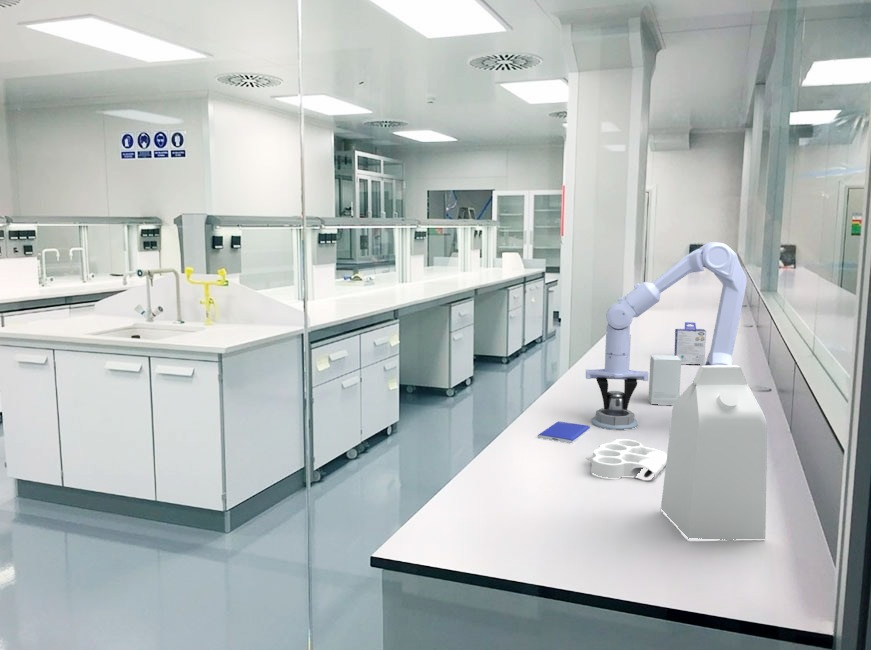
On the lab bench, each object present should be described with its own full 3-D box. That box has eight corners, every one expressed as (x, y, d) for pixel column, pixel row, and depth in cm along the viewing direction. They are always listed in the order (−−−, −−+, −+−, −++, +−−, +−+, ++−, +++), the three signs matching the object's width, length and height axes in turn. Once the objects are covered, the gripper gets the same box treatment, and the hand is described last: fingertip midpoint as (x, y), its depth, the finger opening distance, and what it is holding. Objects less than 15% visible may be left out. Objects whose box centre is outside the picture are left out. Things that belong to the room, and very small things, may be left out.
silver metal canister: (621, 414, 172) (622, 391, 171) (625, 420, 167) (626, 395, 166) (604, 414, 172) (605, 390, 171) (608, 420, 167) (609, 395, 166)
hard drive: (557, 420, 169) (537, 433, 158) (590, 425, 164) (572, 439, 154) (557, 427, 169) (537, 440, 158) (589, 432, 165) (572, 446, 154)
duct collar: (645, 429, 165) (646, 418, 165) (600, 430, 164) (601, 419, 163) (627, 417, 176) (628, 406, 175) (585, 418, 175) (585, 407, 174)
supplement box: (679, 406, 187) (681, 360, 185) (650, 405, 188) (652, 358, 186) (675, 400, 194) (678, 355, 192) (647, 398, 195) (650, 354, 193)
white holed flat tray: (650, 490, 128) (573, 475, 136) (673, 462, 143) (603, 450, 151) (650, 472, 128) (574, 458, 135) (674, 446, 143) (604, 435, 150)
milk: (730, 510, 118) (740, 359, 114) (765, 540, 107) (777, 373, 103) (660, 511, 117) (668, 359, 114) (688, 541, 106) (697, 374, 102)
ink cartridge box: (701, 362, 248) (704, 322, 246) (705, 365, 242) (707, 324, 240) (672, 361, 249) (675, 321, 247) (675, 364, 244) (677, 323, 242)
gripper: (587, 355, 165) (585, 411, 166) (651, 357, 162) (648, 414, 164) (585, 350, 171) (584, 404, 173) (646, 352, 169) (644, 406, 171)
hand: (615, 408), depth 169 cm, fingers closed on silver metal canister, 4 cm apart
